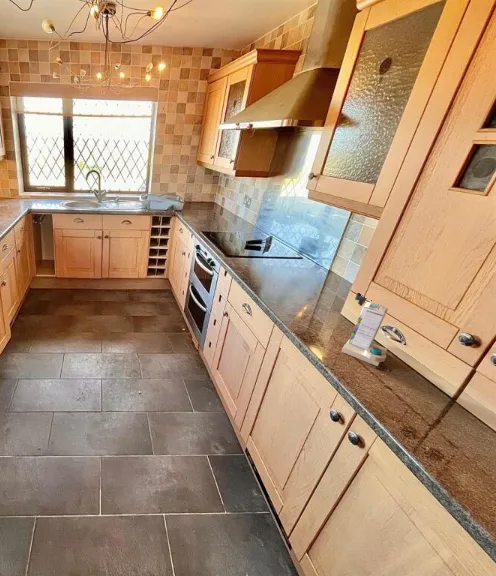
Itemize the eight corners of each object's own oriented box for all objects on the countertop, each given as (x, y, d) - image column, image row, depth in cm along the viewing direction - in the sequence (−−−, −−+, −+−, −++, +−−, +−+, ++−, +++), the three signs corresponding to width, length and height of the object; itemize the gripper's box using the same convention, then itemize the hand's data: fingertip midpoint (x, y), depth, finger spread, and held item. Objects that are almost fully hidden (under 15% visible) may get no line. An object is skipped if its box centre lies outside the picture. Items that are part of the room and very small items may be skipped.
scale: (388, 354, 103) (392, 346, 101) (380, 369, 97) (384, 360, 95) (350, 340, 110) (353, 332, 109) (340, 352, 104) (343, 344, 103)
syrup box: (352, 336, 109) (366, 300, 103) (372, 343, 105) (389, 307, 99) (347, 343, 106) (362, 306, 100) (369, 350, 102) (385, 313, 96)
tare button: (381, 353, 99) (382, 349, 98) (379, 356, 97) (380, 353, 97) (371, 350, 100) (373, 346, 100) (369, 353, 99) (371, 349, 98)
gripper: (409, 309, 112) (398, 325, 102) (362, 295, 122) (348, 309, 112) (417, 290, 108) (407, 306, 99) (368, 278, 118) (355, 291, 109)
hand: (375, 307), depth 106 cm, fingers open, 8 cm apart
